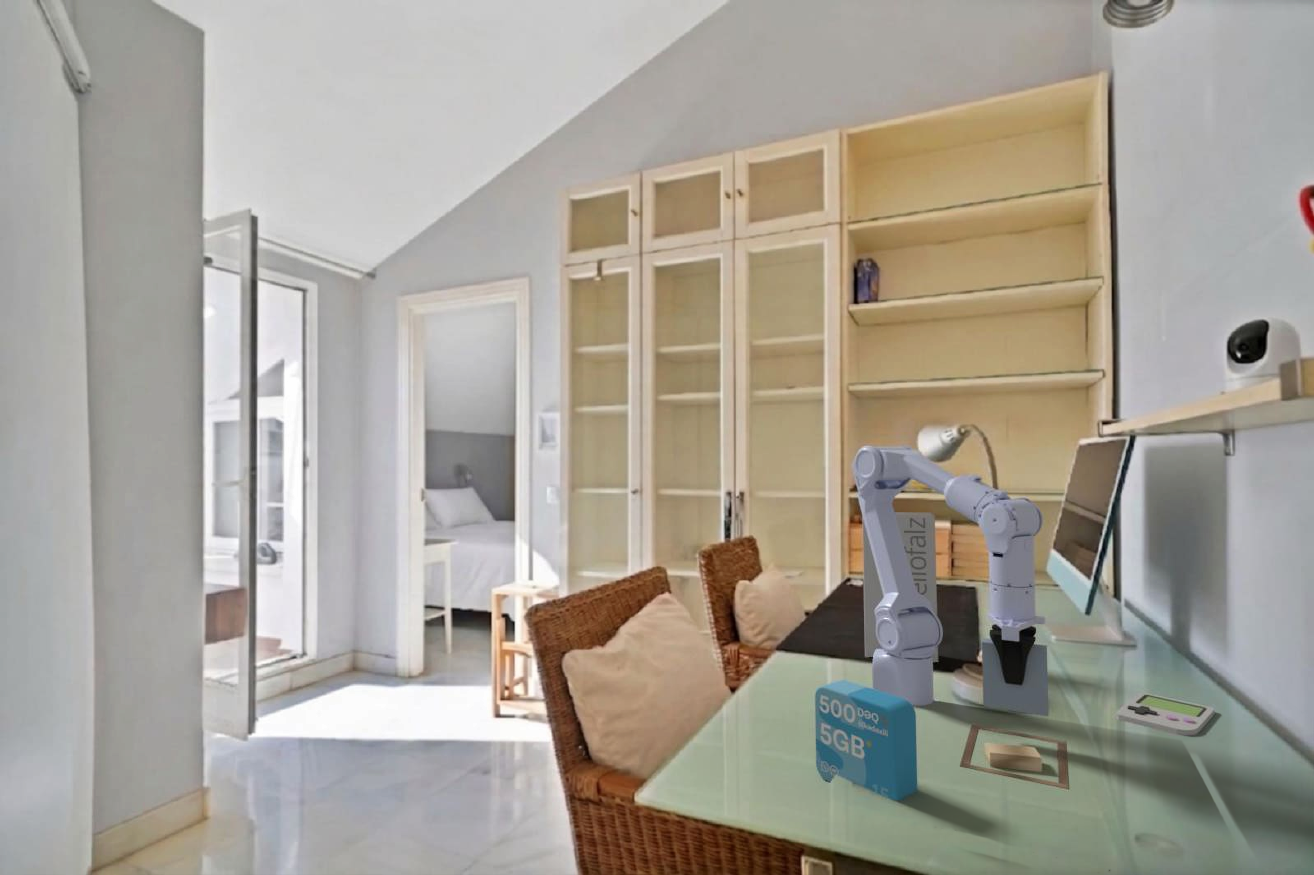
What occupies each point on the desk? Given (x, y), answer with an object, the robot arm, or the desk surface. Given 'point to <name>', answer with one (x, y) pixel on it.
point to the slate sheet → (1012, 696)
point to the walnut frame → (966, 760)
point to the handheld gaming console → (1165, 714)
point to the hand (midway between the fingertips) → (1014, 680)
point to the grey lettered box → (922, 563)
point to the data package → (866, 738)
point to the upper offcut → (1013, 757)
